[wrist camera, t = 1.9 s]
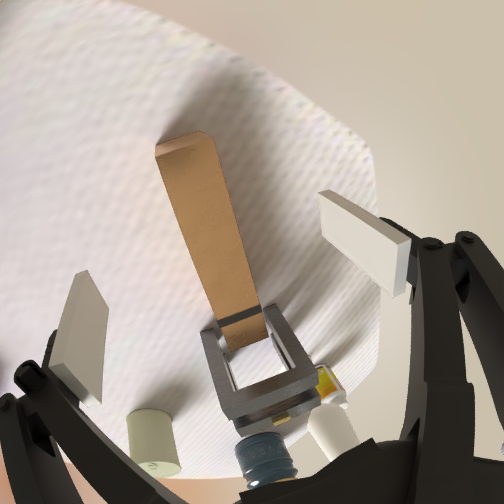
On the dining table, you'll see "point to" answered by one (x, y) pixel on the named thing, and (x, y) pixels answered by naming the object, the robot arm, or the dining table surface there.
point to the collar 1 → (270, 388)
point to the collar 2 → (279, 410)
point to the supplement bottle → (330, 387)
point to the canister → (264, 460)
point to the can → (153, 442)
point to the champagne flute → (331, 428)
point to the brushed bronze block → (212, 234)
